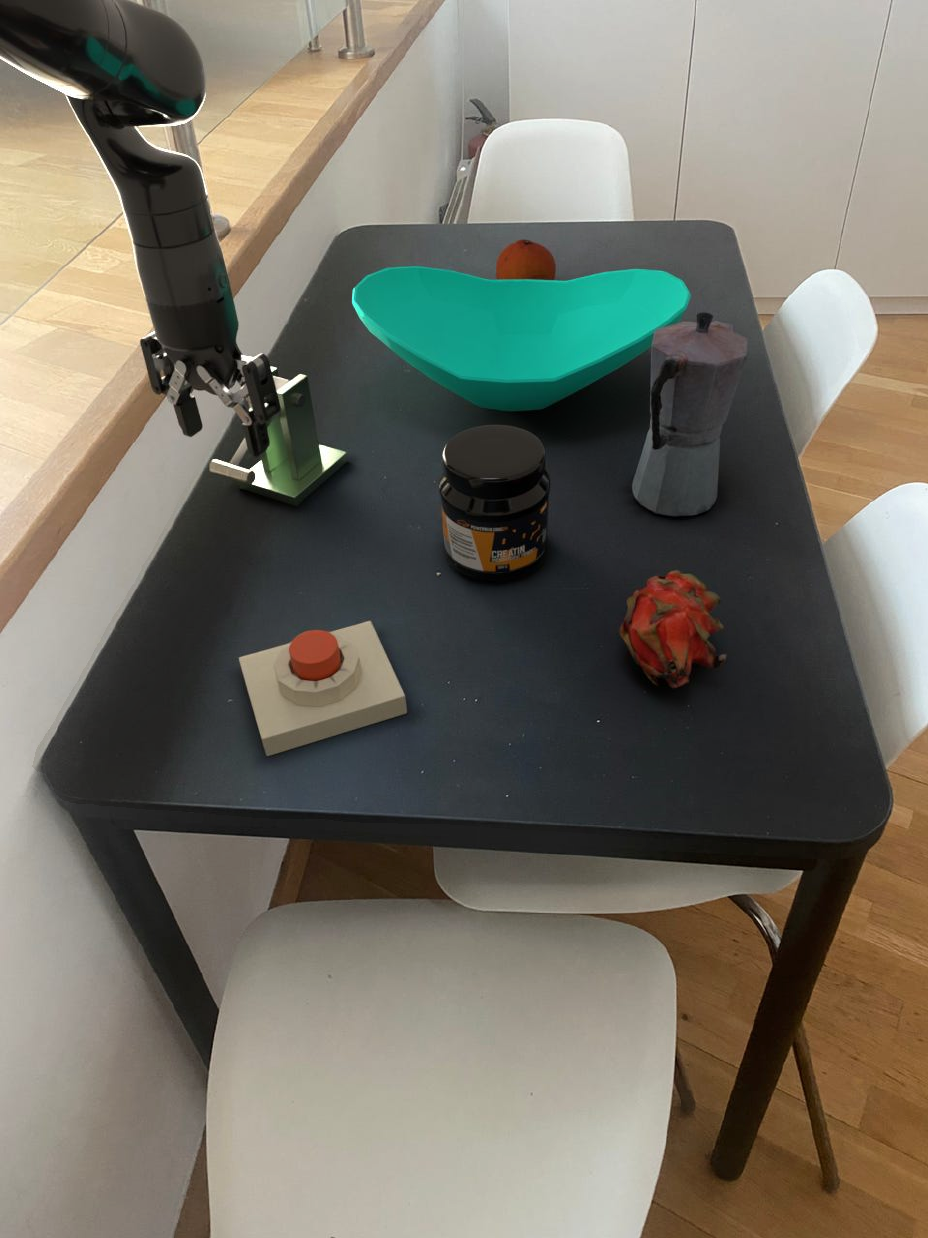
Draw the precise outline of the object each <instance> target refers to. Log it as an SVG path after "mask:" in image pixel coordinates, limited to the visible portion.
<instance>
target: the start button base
mask: <svg viewBox="0 0 928 1238" xmlns="http://www.w3.org/2000/svg"><path fill="white" fill-rule="evenodd" d="M328 632H329V633H331V634H333V635H334V636H335V638H336V639H337V642H338V647H339V652H340V658H341V664H340V667H339V669H338V670H337V671H336V672H335V673H334V674H333V675H332V676H330V677H328V678H326V679H323V680H318V681H309V680H304V679H302V678H300V677H299V676H297V675H296V674H295V672H294V670H293V666H292V662H291V658H290V653H289V647H290V644H291V642H292V641H290V642H289V643H286V644H282V645H278V646H275V647H271V648H268V649H264V650H260V651H258V652H254V653H249V654H247V655H243V656H240V657H238V661H239V666H240V669H241V672H242V676H243V680H244V683H245V687H246V690H247V693H248V698H249V700H250V704H251V707H252V710H253V715H254V718H255V721H256V724H257V728H258V732H259V734H260V739H261V742H262V747H263V749H264V753H265V756H266V757H270V756H273V755H276V754H280V753H283V752H286V751H290V750H293V749H296V748H299V747H302V746H306V745H309V744H312V743H315V742H316V743H317V742H319V741H321V740H325V739H329V738H331V737H334V736H338V735H342V734H344V733H348V732H351V731H353V730H358V729H360V728H361V729H362V728H364V727H367V726H370V725H373V724H377V723H380V722H383V721H386V720H390V719H393V718H396V717H400V716H403V715H406V714H407V713H408V708H407V700H406V694H405V692H404V690H403V688H402V686H401V684H400V681H399V679H398V677H397V675H396V672H395V670H394V668H393V666H392V664H391V662H390V659H389V657H388V655H387V653H386V651H385V649H384V646H383V645H382V642H381V639H380V638H379V635H378V633H377V631H376V629H375V626H374V625H373V622H372V621H371V620H368V621H364V622H361V623H357V624H354V625H349V626H346V627H343V628H339V629H336V630H333V631H328Z"/></svg>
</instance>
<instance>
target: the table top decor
mask: <svg viewBox="0 0 928 1238" xmlns="http://www.w3.org/2000/svg"><path fill="white" fill-rule="evenodd" d="M685 283H686V282H684V280H682V279H680V278H679V277H678V276H677V277H676V276H675V275H673V274H671V273H669V272H667V271H665V270H656V269H644V268H631V269H630V268H629V269H621V270H612V271H610V270H609V271H601V272H598V273H594V274H590V275H589V274H588V275H586V276H581V277H577V278H573V279H569V280H556V279H554V280H531V279H513V280H497V279H487V278H483V277H480V276H477V275H476V276H475V275H472V274H467V273H463V272H459V271H455V270H451V269H444V268H437V267H436V268H435V267H428V266H421V265H409V266H408V265H407V266H393V267H392V266H391V267H386V268H383V269H380V270H378V271H375V272H373V273H369V274H367V275H365V277H363V278H362V280H360V281H359V282H358V283H357V284H356V286H355V287H354V288H353V289H352V297H351V304H352V306H353V308H354V310H355V312H356V314H357V316H358V318H359V319H360V321H361V322H362V323H363V325H364V326H365V327H366V329H367V330H368V332H369V333H371V334H372V335H373V336H374V337H375V338H376V339H378V340H379V341H380V342H381V343H382V344H384V345H385V346H386V347H387V348H389V349H390V350H391V351H392V352H394V353H395V354H396V355H397V356H399V358H401V359H402V360H403V361H405V362H406V363H407V364H409V365H410V366H411V367H413V368H415V369H416V370H418V372H420V373H422V374H423V375H424V376H425V377H427V378H429V379H430V380H432V381H433V382H435V383H436V384H438V385H440V386H442V387H444V388H445V389H447V390H448V391H451V392H452V393H454V394H455V395H458V396H459V397H461V398H463V399H465V400H466V401H468V402H470V403H472V404H473V405H475V406H477V407H479V408H481V409H489V410H498V411H505V412H524V411H537V410H538V411H539V410H544V409H545V408H548V407H550V406H552V405H554V404H556V403H557V402H560V401H562V400H563V399H565V398H567V397H569V396H571V395H573V394H574V393H576V392H578V391H581V390H582V389H584V388H586V387H587V386H589V385H592V384H593V383H595V382H597V381H599V380H601V379H602V378H604V377H605V376H607V375H609V374H611V373H613V372H615V371H617V370H618V369H620V368H622V367H623V366H625V365H626V364H628V363H629V362H631V361H632V360H634V359H635V358H637V357H639V356H640V355H642V354H643V353H645V352H646V351H647V350H648V349H651V346H652V342H653V336H654V332H655V330H656V329H659V328H662V327H666V326H670V325H673V324H677V323H681V320H682V318H683V317H684V314H685V312H686V310H687V308H688V306H689V302H690V300H691V297H692V293H691V292H690V291H689V289H688V287H687V285H686V284H685Z"/></svg>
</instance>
